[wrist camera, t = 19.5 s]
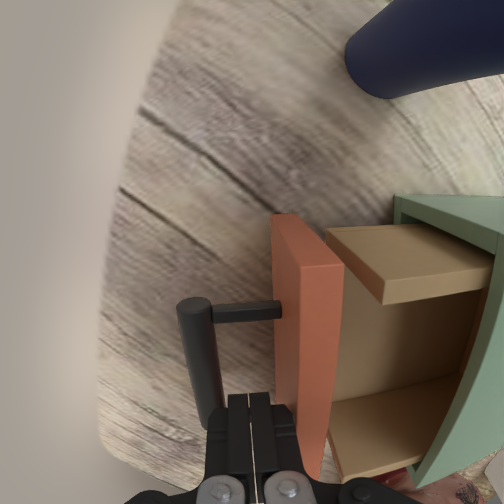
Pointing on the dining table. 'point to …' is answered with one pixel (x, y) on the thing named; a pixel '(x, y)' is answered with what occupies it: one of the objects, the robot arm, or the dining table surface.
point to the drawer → (356, 338)
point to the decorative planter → (433, 488)
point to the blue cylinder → (427, 46)
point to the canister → (497, 473)
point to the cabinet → (486, 344)
